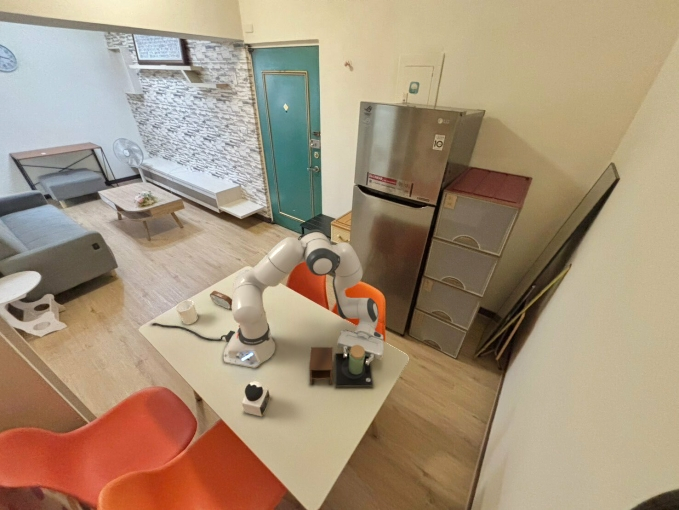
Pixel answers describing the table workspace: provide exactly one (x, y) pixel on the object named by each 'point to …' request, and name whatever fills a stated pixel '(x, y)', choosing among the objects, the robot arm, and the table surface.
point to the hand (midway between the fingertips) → (355, 360)
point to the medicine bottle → (255, 398)
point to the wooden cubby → (321, 363)
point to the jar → (356, 359)
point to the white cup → (187, 311)
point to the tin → (221, 299)
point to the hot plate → (347, 378)
